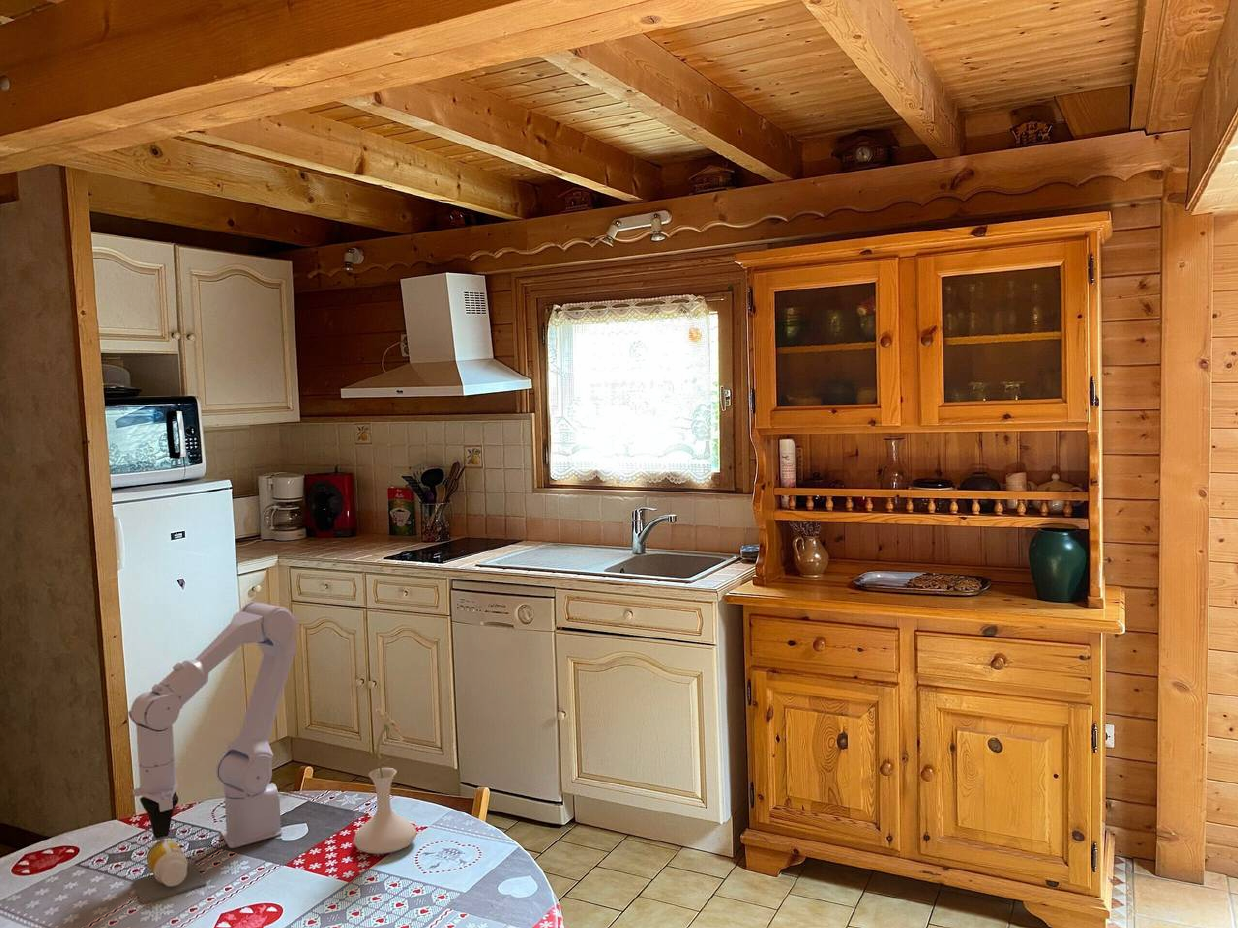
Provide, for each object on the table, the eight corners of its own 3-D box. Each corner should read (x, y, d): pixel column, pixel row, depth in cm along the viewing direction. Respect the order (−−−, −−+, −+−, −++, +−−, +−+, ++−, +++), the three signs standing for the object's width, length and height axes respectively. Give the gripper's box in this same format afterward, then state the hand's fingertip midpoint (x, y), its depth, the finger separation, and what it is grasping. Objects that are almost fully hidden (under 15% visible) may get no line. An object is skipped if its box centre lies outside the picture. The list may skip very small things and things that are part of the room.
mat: (195, 864, 173) (194, 862, 172) (206, 885, 165) (206, 883, 165) (133, 881, 167) (133, 879, 167) (142, 904, 159) (141, 901, 159)
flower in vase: (418, 855, 174) (413, 720, 172) (352, 864, 172) (346, 727, 170) (415, 823, 187) (410, 697, 185) (354, 831, 184) (348, 703, 182)
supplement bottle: (178, 834, 172) (191, 854, 164) (179, 863, 172) (192, 885, 165) (145, 842, 169) (157, 863, 161) (146, 872, 169) (157, 894, 162)
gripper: (125, 753, 173) (129, 827, 174) (138, 780, 161) (143, 858, 162) (167, 744, 177) (172, 816, 178) (184, 769, 165) (188, 846, 166)
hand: (161, 835), depth 170 cm, fingers closed
